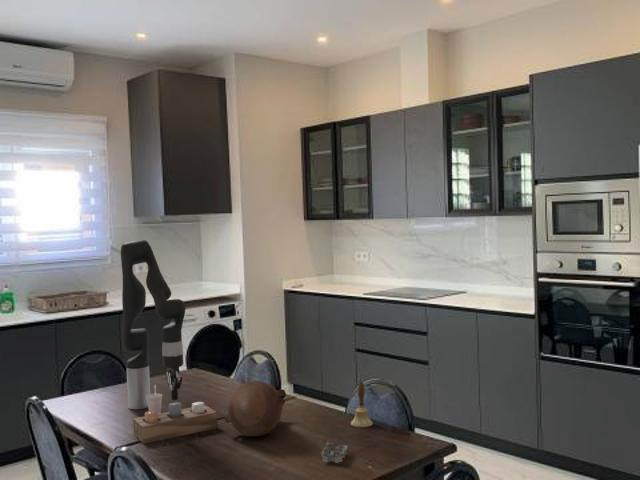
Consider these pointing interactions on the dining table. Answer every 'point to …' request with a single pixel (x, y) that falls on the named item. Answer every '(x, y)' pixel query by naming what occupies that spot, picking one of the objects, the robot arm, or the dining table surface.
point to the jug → (255, 408)
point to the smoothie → (154, 401)
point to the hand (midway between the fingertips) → (174, 399)
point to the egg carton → (333, 453)
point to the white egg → (198, 407)
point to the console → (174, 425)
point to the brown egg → (151, 416)
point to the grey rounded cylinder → (175, 410)
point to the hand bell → (361, 410)
